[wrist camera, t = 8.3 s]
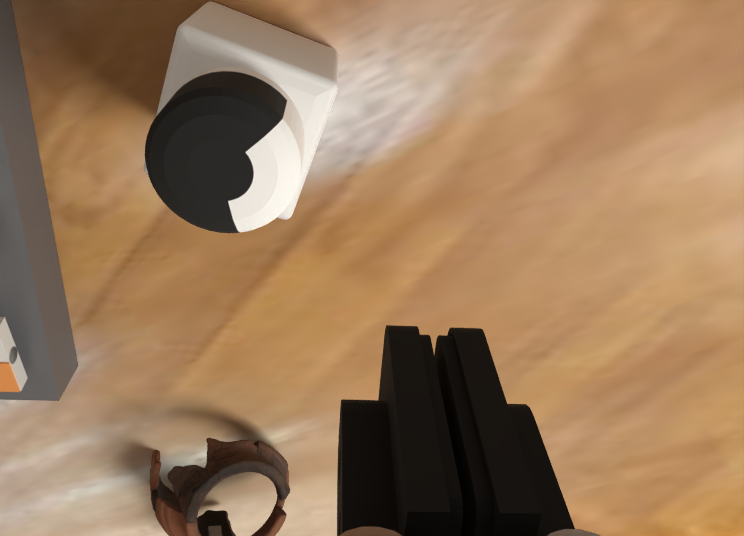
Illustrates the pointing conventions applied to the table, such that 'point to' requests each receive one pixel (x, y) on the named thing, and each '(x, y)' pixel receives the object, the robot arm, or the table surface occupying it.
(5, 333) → the rocker
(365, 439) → the robot arm
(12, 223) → the power strip
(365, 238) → the table surface
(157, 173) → the medicine bottle
